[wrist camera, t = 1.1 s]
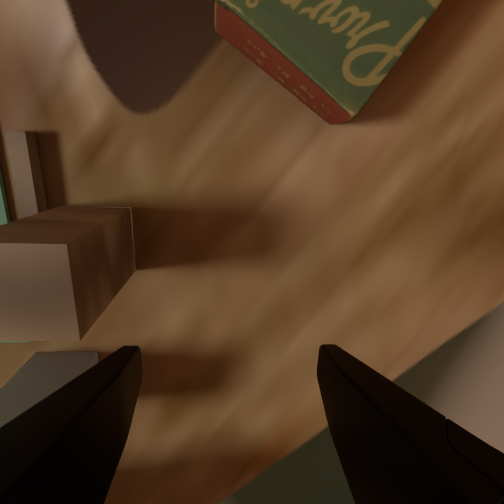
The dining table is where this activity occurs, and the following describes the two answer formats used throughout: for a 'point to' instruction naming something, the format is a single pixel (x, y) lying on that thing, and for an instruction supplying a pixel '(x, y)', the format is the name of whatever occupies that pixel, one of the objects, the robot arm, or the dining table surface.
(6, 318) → the walnut block
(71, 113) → the dining table surface
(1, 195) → the felt mat
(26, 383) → the grey block
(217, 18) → the carton
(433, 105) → the dining table surface
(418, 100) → the dining table surface
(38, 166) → the batten
